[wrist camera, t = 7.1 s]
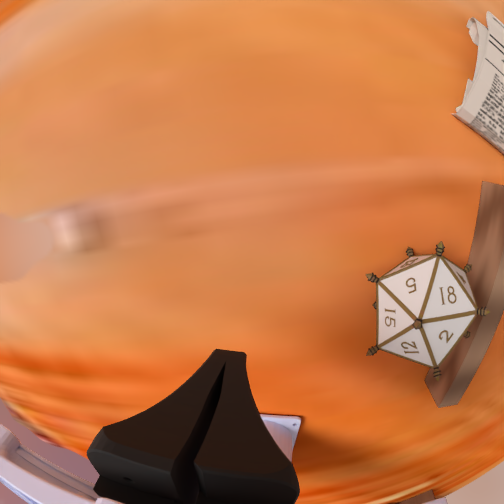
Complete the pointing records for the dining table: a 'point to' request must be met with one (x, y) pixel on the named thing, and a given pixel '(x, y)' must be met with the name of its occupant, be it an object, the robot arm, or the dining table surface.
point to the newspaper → (486, 83)
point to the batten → (477, 300)
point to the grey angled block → (420, 498)
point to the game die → (424, 308)
